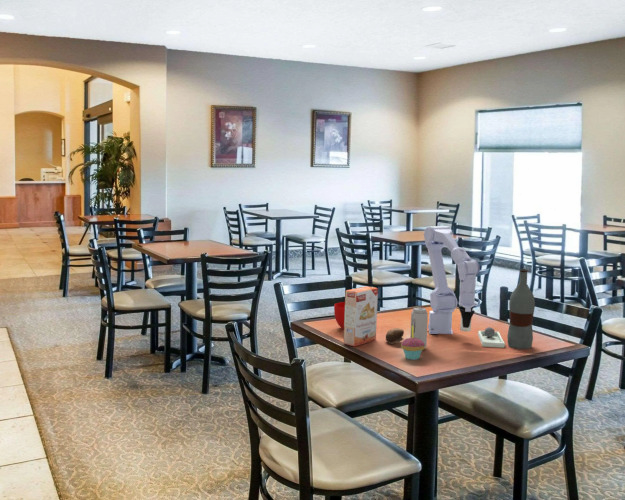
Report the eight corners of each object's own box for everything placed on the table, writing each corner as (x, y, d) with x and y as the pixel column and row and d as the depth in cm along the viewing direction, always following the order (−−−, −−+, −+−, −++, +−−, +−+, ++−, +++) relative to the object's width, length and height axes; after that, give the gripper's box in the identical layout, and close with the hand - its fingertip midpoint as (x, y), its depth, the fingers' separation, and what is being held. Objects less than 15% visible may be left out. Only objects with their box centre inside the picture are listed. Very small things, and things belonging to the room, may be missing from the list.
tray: (482, 347, 245) (482, 342, 245) (478, 335, 262) (478, 330, 262) (504, 349, 244) (504, 343, 243) (498, 337, 261) (498, 331, 261)
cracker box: (355, 347, 243) (357, 292, 240) (342, 344, 247) (344, 290, 244) (377, 340, 254) (378, 287, 251) (364, 337, 257) (366, 285, 255)
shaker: (460, 331, 250) (461, 315, 249) (459, 328, 254) (460, 313, 253) (471, 331, 249) (472, 316, 249) (470, 329, 253) (471, 314, 252)
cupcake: (398, 354, 234) (399, 321, 233) (421, 354, 235) (422, 321, 234) (403, 361, 226) (404, 327, 224) (427, 361, 227) (428, 327, 225)
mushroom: (410, 333, 252) (401, 321, 250) (406, 345, 245) (397, 333, 244) (393, 340, 256) (384, 328, 255) (389, 352, 250) (380, 340, 248)
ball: (484, 338, 257) (485, 328, 256) (483, 335, 261) (484, 325, 260) (495, 338, 256) (495, 328, 256) (493, 336, 260) (494, 326, 259)
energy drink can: (407, 346, 245) (408, 307, 243) (420, 345, 247) (422, 306, 245) (415, 351, 239) (417, 311, 237) (429, 349, 241) (431, 310, 240)
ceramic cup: (378, 328, 273) (378, 304, 271) (347, 333, 262) (347, 309, 261) (357, 322, 283) (358, 299, 282) (327, 327, 273) (327, 304, 271)
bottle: (537, 348, 245) (542, 270, 241) (521, 352, 240) (525, 271, 236) (517, 343, 252) (522, 266, 249) (501, 346, 248) (505, 268, 244)
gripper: (479, 295, 242) (477, 331, 244) (476, 288, 256) (474, 322, 258) (460, 294, 243) (458, 330, 245) (458, 287, 257) (456, 321, 259)
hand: (465, 326), depth 251 cm, fingers closed on shaker, 4 cm apart
